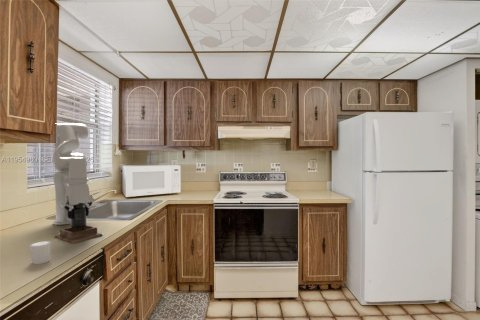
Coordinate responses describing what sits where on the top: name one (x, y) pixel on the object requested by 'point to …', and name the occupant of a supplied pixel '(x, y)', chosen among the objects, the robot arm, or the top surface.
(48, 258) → the shot glass
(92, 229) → the bottle cradle
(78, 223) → the supplement bottle
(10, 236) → the top surface
